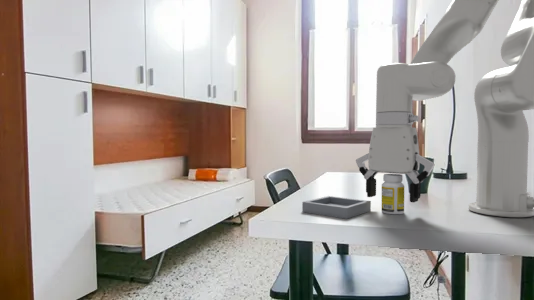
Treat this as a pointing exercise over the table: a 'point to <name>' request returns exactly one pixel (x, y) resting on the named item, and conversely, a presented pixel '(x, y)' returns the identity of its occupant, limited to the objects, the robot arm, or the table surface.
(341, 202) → the tray
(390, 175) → the supplement bottle
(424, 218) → the table surface
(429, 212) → the table surface
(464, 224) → the table surface
